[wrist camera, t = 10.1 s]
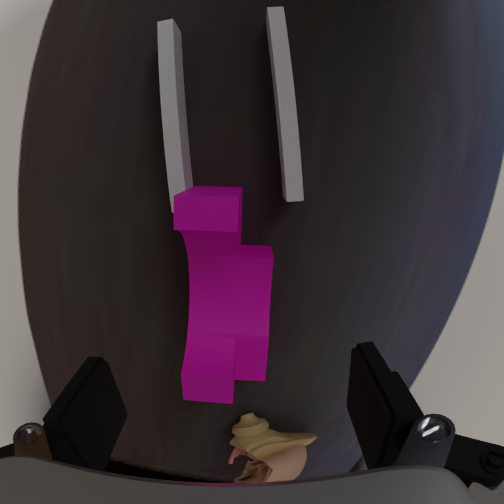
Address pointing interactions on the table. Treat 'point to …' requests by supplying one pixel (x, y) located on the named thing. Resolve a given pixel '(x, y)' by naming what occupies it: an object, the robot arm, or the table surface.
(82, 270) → the table surface
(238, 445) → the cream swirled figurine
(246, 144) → the table surface
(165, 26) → the guide channel
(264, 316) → the toy block
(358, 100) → the table surface
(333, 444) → the table surface
